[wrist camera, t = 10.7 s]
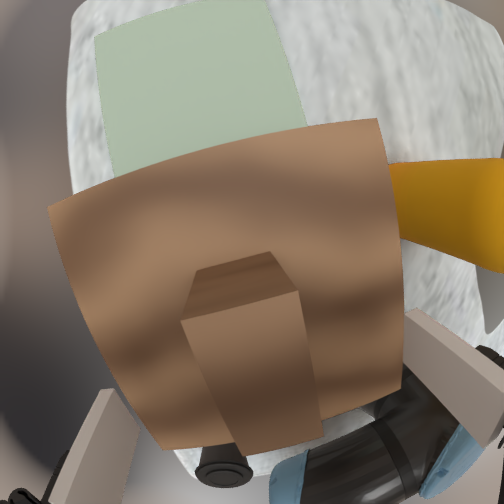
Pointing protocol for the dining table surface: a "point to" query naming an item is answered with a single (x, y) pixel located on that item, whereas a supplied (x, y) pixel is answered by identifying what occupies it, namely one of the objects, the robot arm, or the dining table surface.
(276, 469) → the robot arm
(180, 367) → the walnut cover
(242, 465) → the coffee cup
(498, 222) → the yellow bottle
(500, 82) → the dining table surface
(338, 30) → the dining table surface
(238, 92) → the green mat
